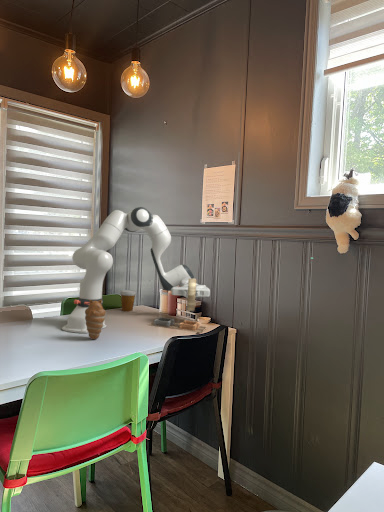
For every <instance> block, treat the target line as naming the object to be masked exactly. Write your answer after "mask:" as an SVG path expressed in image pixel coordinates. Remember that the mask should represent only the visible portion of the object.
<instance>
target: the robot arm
mask: <svg viewBox="0 0 384 512" xmlns="http://www.w3.org/2000/svg"><path fill="white" fill-rule="evenodd" d="M140 230H144V231H145V232H146V233H147V235H148V237H149V238H150V241H151V248H150V254H151V258H152V261H153V264H154V267H155V269H156V273H157V275H158V280H159V284H160V287H161V288H162V289H163V291H166V292H167V291H168V292H171V296H183V297H185V298H186V299H187V297H188V280H189V279H195V276H194V274H193V272H192V271H191V269H190V267H188V266H187V265H186V264H179V265H178V266H175V267H174V268H173V269H171V270H169V271H167V272H165V270H164V266H163V264H162V260H161V257H162V254H163V253H164V252H165V251H166V249H167V248H168V247H169V246H170V245H171V242H172V236H171V233H170V231H169V229H168V227H167V225H166V224H165V223H164V221H163V219H161V217H160V216H159V215H157V214H152V212H150V211H149V210H148V209H147V208H146V207H144V206H143V207H142V206H139V207H135V208H133V209H131V210H130V211H129V212H127V213H125V212H124V211H122V210H119V209H115V210H113V211H112V212H110V214H109V215H107V217H106V218H105V219H104V221H103V222H102V223H101V225H100V227H99V228H98V230H97V231H96V232H95V234H94V235H93V236H92V238H90V239H89V240H88V241H86V243H85V244H84V245H83V246H81V247H80V248H78V249H76V250H75V251H74V252H73V253H72V258H71V259H72V262H73V264H74V265H75V266H76V267H78V268H80V269H82V270H85V274H84V277H83V278H82V280H80V282H79V295H78V299H74V300H73V304H74V305H76V307H75V308H73V310H72V312H71V313H70V314H69V315H68V317H67V324H66V325H63V326H62V327H61V330H63V331H64V332H69V333H78V334H87V333H88V334H89V332H88V331H87V326H86V320H85V316H86V314H85V310H86V309H87V308H88V307H89V304H90V303H89V300H92V301H99V300H102V302H101V305H102V306H103V304H104V303H103V301H104V300H103V299H104V298H103V285H104V280H105V277H106V274H107V273H108V271H109V270H111V269H112V267H113V263H114V259H113V256H112V254H111V253H109V252H108V251H109V250H110V249H112V248H113V247H115V245H116V244H117V242H118V240H119V239H120V237H121V236H122V234H123V232H124V231H127V232H129V233H135V232H138V231H140ZM210 296H211V289H210V288H209V287H208V286H207V285H205V284H201V283H197V282H196V294H195V298H206V297H207V298H209V297H210ZM105 328H107V324H105V321H104V322H103V327H102V328H101V330H102V329H105Z"/></svg>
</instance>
